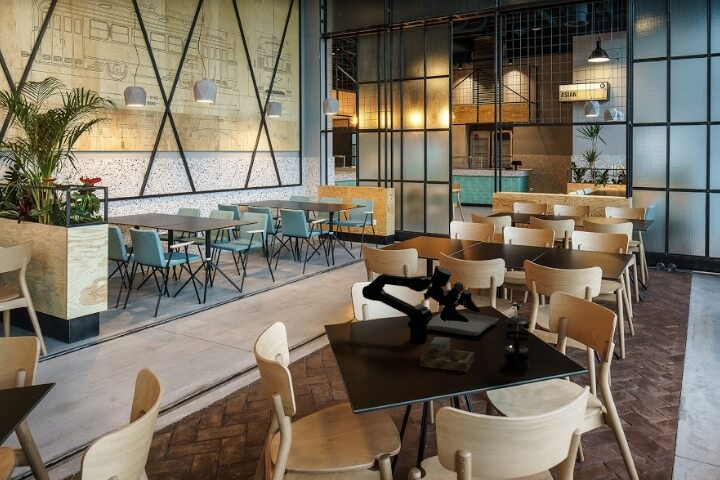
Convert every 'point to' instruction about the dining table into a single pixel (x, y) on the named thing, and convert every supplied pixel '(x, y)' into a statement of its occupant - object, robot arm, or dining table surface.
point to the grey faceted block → (440, 343)
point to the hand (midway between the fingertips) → (474, 316)
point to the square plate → (462, 324)
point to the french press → (517, 344)
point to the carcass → (447, 359)
